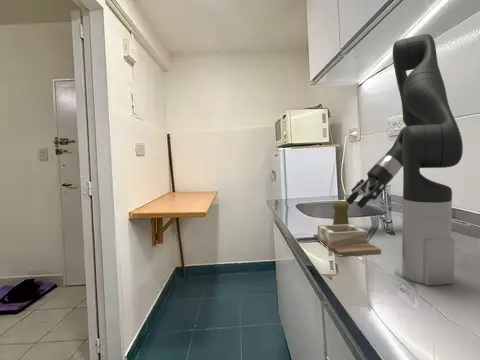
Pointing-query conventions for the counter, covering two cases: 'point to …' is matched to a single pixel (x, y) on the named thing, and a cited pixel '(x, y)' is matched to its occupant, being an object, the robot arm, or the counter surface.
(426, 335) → the counter surface
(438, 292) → the counter surface
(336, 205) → the cork
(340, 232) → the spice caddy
